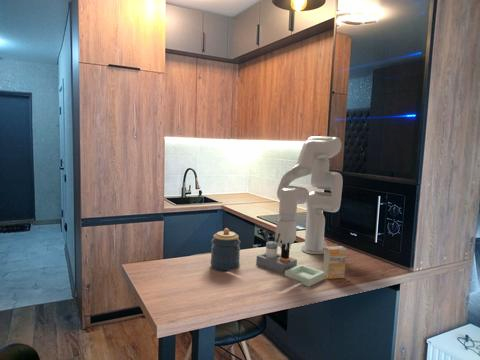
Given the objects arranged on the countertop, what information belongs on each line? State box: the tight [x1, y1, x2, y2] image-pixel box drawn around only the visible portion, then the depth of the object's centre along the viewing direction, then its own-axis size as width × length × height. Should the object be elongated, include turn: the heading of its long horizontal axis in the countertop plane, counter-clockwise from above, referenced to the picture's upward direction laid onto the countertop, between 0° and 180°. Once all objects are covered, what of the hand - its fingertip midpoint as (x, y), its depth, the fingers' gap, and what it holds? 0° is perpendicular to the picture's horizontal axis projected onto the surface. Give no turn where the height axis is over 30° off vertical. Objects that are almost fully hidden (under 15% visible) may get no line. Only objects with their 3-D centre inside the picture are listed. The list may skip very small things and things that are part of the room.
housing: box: [255, 252, 298, 275], centre depth 161 cm, size 10×15×5 cm, turn 47°
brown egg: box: [280, 256, 291, 262], centre depth 158 cm, size 4×4×5 cm
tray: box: [284, 263, 325, 287], centre depth 152 cm, size 12×12×3 cm
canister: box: [210, 227, 241, 272], centre depth 160 cm, size 13×13×18 cm
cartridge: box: [265, 240, 279, 259], centre depth 163 cm, size 5×5×10 cm
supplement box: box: [322, 245, 348, 280], centre depth 154 cm, size 8×5×13 cm, turn 105°
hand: (284, 257), depth 158 cm, fingers closed
